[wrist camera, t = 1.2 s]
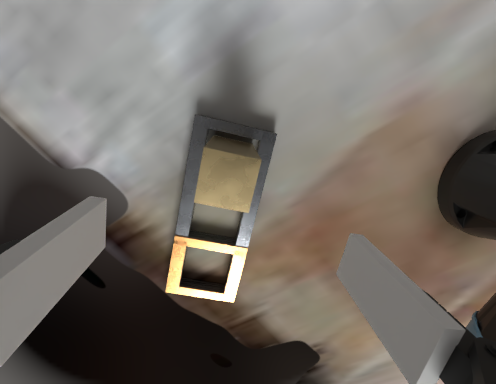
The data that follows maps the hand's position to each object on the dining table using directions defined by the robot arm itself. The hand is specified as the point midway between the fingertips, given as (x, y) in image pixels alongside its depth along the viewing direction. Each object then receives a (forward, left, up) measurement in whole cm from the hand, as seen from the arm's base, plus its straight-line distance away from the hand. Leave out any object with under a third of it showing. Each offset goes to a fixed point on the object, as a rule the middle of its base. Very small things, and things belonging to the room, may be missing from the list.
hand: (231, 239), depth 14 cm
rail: (+1, +7, -21) cm, 22 cm away
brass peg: (+1, -1, -21) cm, 21 cm away
